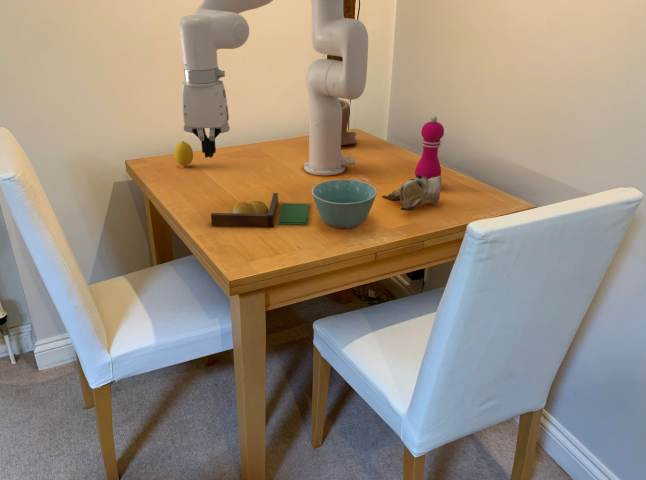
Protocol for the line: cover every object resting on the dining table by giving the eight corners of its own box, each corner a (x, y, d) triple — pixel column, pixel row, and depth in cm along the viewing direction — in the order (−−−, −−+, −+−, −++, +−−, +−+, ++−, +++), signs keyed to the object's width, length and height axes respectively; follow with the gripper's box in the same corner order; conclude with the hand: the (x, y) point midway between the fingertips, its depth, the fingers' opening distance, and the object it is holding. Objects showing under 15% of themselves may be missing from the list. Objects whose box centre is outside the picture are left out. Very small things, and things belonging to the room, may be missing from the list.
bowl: (328, 239, 135) (329, 206, 131) (301, 215, 148) (301, 184, 144) (386, 228, 141) (389, 196, 137) (356, 205, 153) (357, 175, 149)
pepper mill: (441, 185, 166) (451, 114, 156) (435, 193, 161) (444, 120, 151) (417, 181, 169) (424, 111, 159) (410, 189, 163) (417, 117, 153)
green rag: (308, 204, 154) (308, 202, 153) (306, 225, 142) (306, 223, 142) (282, 204, 154) (282, 202, 154) (278, 224, 143) (278, 222, 142)
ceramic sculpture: (453, 176, 147) (403, 188, 142) (451, 207, 151) (401, 220, 147) (429, 164, 155) (380, 174, 151) (427, 194, 160) (380, 205, 155)
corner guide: (278, 203, 154) (277, 192, 153) (273, 227, 141) (272, 215, 140) (221, 202, 155) (221, 191, 153) (211, 226, 142) (210, 213, 140)
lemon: (192, 169, 177) (189, 144, 173) (174, 169, 177) (171, 143, 173) (195, 164, 182) (193, 138, 178) (178, 163, 182) (175, 138, 178)
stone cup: (319, 151, 193) (320, 105, 185) (311, 141, 203) (312, 97, 195) (363, 149, 196) (365, 103, 188) (353, 139, 206) (355, 95, 198)
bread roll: (273, 219, 145) (273, 204, 143) (239, 225, 142) (239, 210, 140) (261, 207, 152) (260, 193, 150) (228, 213, 148) (227, 198, 146)
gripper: (237, 72, 133) (242, 150, 143) (172, 72, 134) (182, 150, 143) (232, 79, 127) (238, 161, 136) (164, 79, 127) (175, 160, 137)
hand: (209, 155), depth 140 cm, fingers closed
